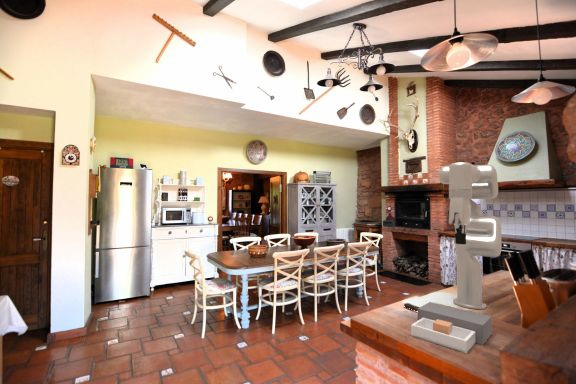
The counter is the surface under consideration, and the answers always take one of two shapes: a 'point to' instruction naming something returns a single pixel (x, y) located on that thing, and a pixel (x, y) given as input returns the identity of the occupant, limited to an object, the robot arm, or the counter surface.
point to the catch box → (444, 335)
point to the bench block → (459, 319)
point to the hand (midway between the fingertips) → (460, 243)
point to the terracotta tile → (442, 326)
